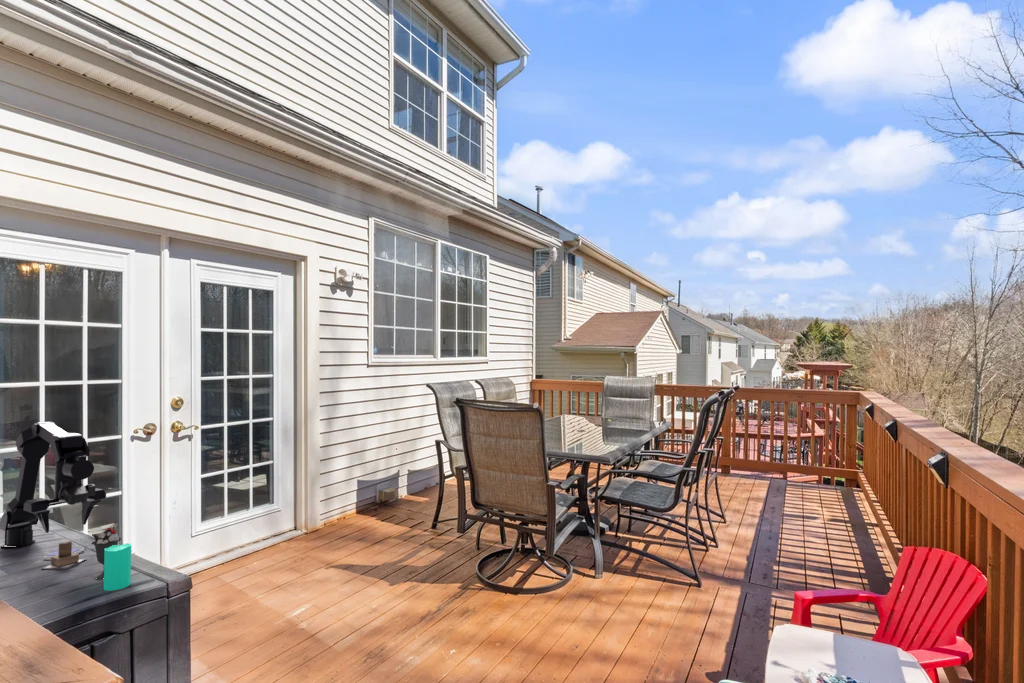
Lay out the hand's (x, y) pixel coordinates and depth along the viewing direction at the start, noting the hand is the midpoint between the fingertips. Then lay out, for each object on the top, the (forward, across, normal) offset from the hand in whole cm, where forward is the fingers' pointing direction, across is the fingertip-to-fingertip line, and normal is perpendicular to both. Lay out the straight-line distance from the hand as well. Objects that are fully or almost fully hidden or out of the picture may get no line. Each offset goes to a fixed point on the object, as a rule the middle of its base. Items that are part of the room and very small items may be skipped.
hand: (65, 528), depth 161 cm
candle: (+11, -1, -32) cm, 34 cm away
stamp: (+10, 0, 0) cm, 11 cm away
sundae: (+11, +1, -22) cm, 24 cm away
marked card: (+11, 0, 0) cm, 11 cm away
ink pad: (+11, +4, +10) cm, 15 cm away
